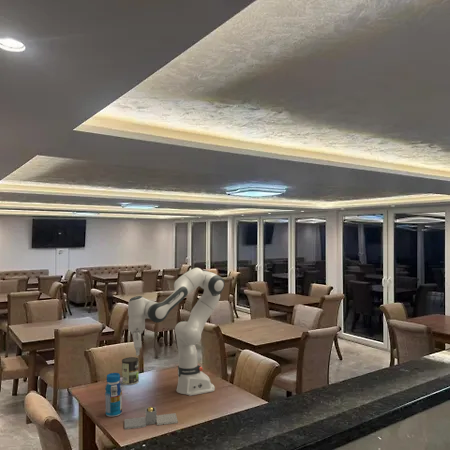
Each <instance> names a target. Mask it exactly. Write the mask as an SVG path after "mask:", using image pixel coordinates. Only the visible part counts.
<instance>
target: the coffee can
mask: <svg viewBox="0 0 450 450" xmlns="http://www.w3.org/2000/svg"><path fill="white" fill-rule="evenodd" d="M139 380H140V378H139V357H134V356H130V357H125V358H123V359H121V381H122V382H121V383H122V385H125V386H126V385H127V386H129V385H130V386H131V385H135V384H138V383H140V381H139Z"/></svg>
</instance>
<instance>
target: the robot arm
mask: <svg viewBox="0 0 450 450" xmlns="http://www.w3.org/2000/svg"><path fill="white" fill-rule="evenodd" d="M225 283H226V282H225V280H224V278H223V277H222V276H220V275H218V274H216V273H214V272H211V271H209V270H207V269H201V268H200V267H194V268H192V269H190V270H188V271H186V272H185V273H183V274H182V275H180V276H179V277H178V278H177V279H175V281H174V283H173V289H174V291H173V292H172V293H171V294H170V295H169V296H168V297H167V298H165V299H164V300H163V301H161V302H157V301H154V300H151V299H147V298H145V297H144V296H142V295H137V296H133V297H131V298H129V300H128V304H127V316H128V319H127V321H128V324H127V325H128V326H127V327H128V329H127V330H128V331H129V332H130V334H131V335H132V341H133V347H134V350H135V356H140V354H141V353H140V350H141V348H142V334H143V333H144V331H145V330H146V319H148V320H150V321H152V322H153V323H159V324H160V323H162V322H163V321H165V320H166V318H167V317H168V315H169V313H170V312H171V311H172V310H173V309H174V308H175V307H176V306H178V305H179V304H180V303H181V302H182V301H183V300H184V299H185V298H186V297H187V296H188V295H190V294H191V293H192V292H193V291H195V290H196V289H197V288H198V287H199V288H201V289H202V290H203V292H202V295H200V297H199V298H198V300H197V302H196V303H195V305H194V306H193V307H192V309H191V310H190V314H189V315H190V316H189V318H188V320H187V321H184V320H183V321H180V322H179V321H178V323H177V324H176V325H175V327H174V334H175V339H176V345H177V354H178V366H177V375H178V377H177V378H178V380H177V386H176V392H177V393H178V394H181V395H187V396H189V397H191V396H196V395H200V394H201V395H202V394H207V393H213V392H214V391H215V390H216V388H215V385H214V384H213V383H212V382H211V378H210V377H209V376H208V375H207V374H206V373H205V372H203V370H204V368H203V367H202V366H201V365H200V364H199V363H198V350H197V347H196V345H197V344H199V343H200V341H201V339H202V333H203V331H204V328H205V326H206V323H207V322H208V319H210V317H211V315H212V314H213V312H214V311H215V309H216V307H217V306H218V303H219V301H220V298H221V294H222V292H223V291H224V289H225V285H226V284H225Z"/></svg>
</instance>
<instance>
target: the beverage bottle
mask: <svg viewBox="0 0 450 450" xmlns="http://www.w3.org/2000/svg"><path fill="white" fill-rule="evenodd" d="M120 381H121V374H120V373H118V372H111V373H108V374H107V375H106V382H107V384H106V385H105V388H104V390H105V393H104V397H105V401H104V402H105V416H107V417H112V418H113V417H118V416H120V415H121V414H122V413H123V401H122V400H123V397H122V395H123V390H122V388H123V387H122V384H121V382H120Z"/></svg>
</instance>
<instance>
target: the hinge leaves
mask: <svg viewBox="0 0 450 450" xmlns="http://www.w3.org/2000/svg"><path fill="white" fill-rule="evenodd" d="M152 407H153V411H148V407H146V408H144V413H145V416H141V417H133V418H124V430H131V429H139V428H140V429H141V428H147V426H150V425H156V426H164V425H171V424H178V423H179V421H178V418H177V413H175V412H174V413H173V412H172V413H167V414H159V415H158V414H157V413H158V412H157V407H156V406H152ZM156 423H157V424H156ZM163 424H164V425H163Z"/></svg>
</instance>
